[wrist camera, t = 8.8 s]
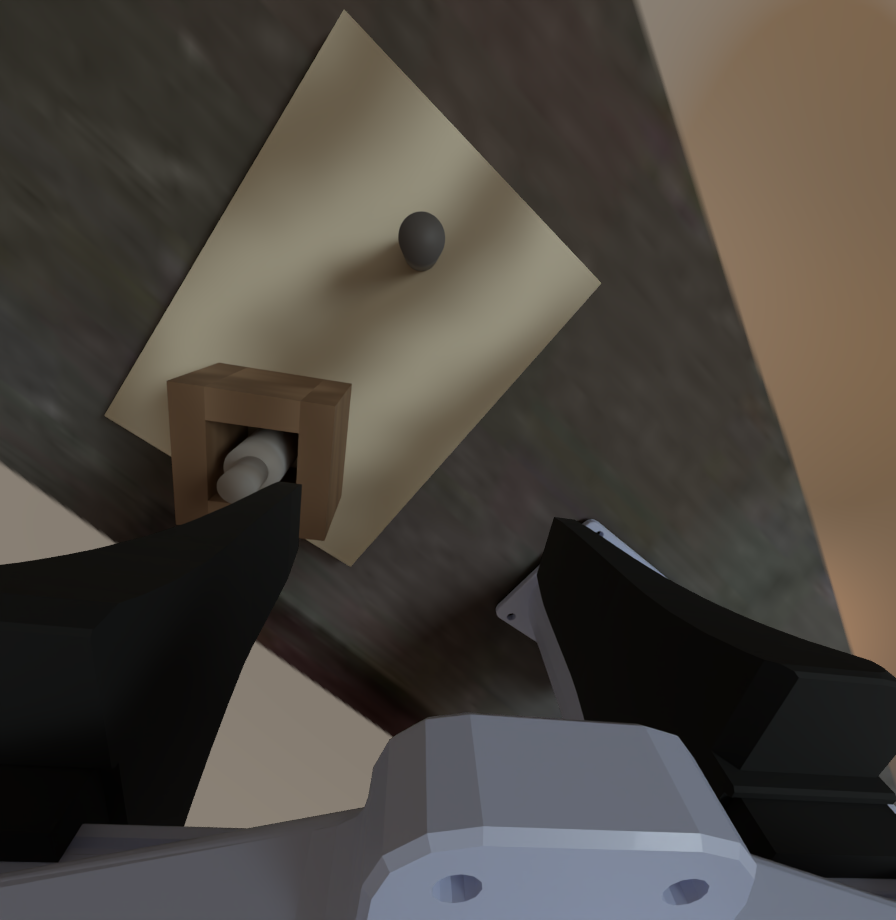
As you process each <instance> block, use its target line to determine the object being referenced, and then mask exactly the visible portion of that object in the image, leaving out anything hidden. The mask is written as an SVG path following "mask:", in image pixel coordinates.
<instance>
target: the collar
mask: <svg viewBox="0 0 896 920" xmlns="http://www.w3.org/2000/svg"><path fill="white" fill-rule="evenodd" d="M166 382H167V397H168V412H169V427H170V442H171V458H172V473H173V488H174V503H175V518H176V525H182V524H184V523H187V522H190V521H192V520H195V519H197V518H200V517H202V516H204V515H207V514H209V513H211V512H214V511H216V510H218V509H221V508H223V507H225V506H228V505H230V504H231V503H229V502H227V501H225V500H224V499H223V498H222V497H221V496H220V495H219V493H218V491H217V482H218V480H219V478H220V477H221V476H222V475H223V474H224V461H225V458H226V457H227V455H228V454H229V453H230V452H231V451H232V450H233V449H234V448H236V447H237V446H238V445H239V444H240V443H242V442H243V441H244V440H245V439H246V438H247V437H248V426H250V427H257V428H265V429H272V430H279V431H286V432H293V433H299V439H298V459H297V468H294V467H290V468H289V469H288V470H287V472H286V473H285V474H284V476H283V477H282V479H281V480H280V482H288V483H295V484H302V495H301V512H300V529H299V538H301V539H310V540H319V541H325V538H326V536H327V533H328V530H329V528H330V525H331V522H332V520H333V517H334V515H335V512H336V509H337V507H338V504H339V501H340V499H341V496H342V485H343V475H344V464H345V453H346V442H347V432H348V421H349V410H350V400H351V389H352V384H351V383H345V382H339V381H332V380H326V379H320V378H313V377H307V376H301V375H294V374H288V373H282V372H275V371H269V370H263V369H256V368H250V367H244V366H237V365H231V364H225V363H216V364H213V365H211V366H208V367H205V368H202V369H199V370H196V371H193V372H190V373H188V374H185V375H182V376H179V377H176V378H173V379H170V380H167V381H166Z"/></svg>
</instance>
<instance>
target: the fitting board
mask: <svg viewBox="0 0 896 920" xmlns="http://www.w3.org/2000/svg"><path fill="white" fill-rule="evenodd" d="M600 284H601V282H600V281H599V280H598V279H597V278H596V277H595V276H594V275H593V274H592V273H591V272H590V271H589V270H588V268H587V267H586V266H585V265H584V264H583V263H582V262H581V261H580V260H579V259H578V258H577V257H576V256H575V255H574V254H573V253H572V251H571V250H570V249H569V248H568V247H567V246H566V245H565V244H564V243H563V242H562V241H561V240H560V239H559V238H558V237H557V235H556V234H555V233H554V232H553V231H552V230H551V229H550V228H549V227H548V226H547V225H546V224H545V223H544V222H543V221H542V220H541V218H540V217H539V216H538V215H537V214H536V213H535V212H534V211H533V210H532V209H531V208H530V207H529V206H528V205H527V204H526V202H525V201H524V200H523V199H522V198H521V197H520V196H519V195H518V194H517V193H516V192H515V191H514V190H513V189H512V188H511V187H510V185H509V184H508V183H507V182H506V181H505V180H504V179H503V178H502V177H501V176H500V175H499V174H498V173H497V172H496V171H495V170H494V168H493V167H492V166H491V165H490V164H489V163H488V162H487V161H486V160H485V159H484V158H483V157H482V156H481V155H480V154H479V152H478V151H477V150H476V149H475V148H474V147H473V146H472V145H471V144H470V143H469V142H468V141H467V140H466V139H465V138H464V137H463V135H462V134H461V133H460V132H459V131H458V130H457V129H456V128H455V127H454V126H453V125H452V124H451V123H450V122H449V121H448V119H447V118H446V117H445V116H444V115H443V114H442V113H441V112H440V111H439V110H438V109H437V108H436V107H435V106H434V105H433V104H432V102H431V101H430V100H429V99H428V98H427V97H426V96H425V95H424V94H423V93H422V92H421V91H420V90H419V89H418V88H417V86H416V85H415V84H414V83H413V82H412V81H411V80H410V79H409V78H408V77H407V76H406V75H405V74H404V73H403V72H402V71H401V69H400V68H399V67H398V66H397V65H396V64H395V63H394V62H393V61H392V60H391V59H390V58H389V57H388V56H387V55H386V54H385V52H384V51H383V50H382V49H381V48H380V47H379V46H378V45H377V44H376V43H375V42H374V41H373V40H372V39H371V38H370V36H369V35H368V34H367V33H366V32H365V31H364V30H363V29H362V28H361V27H360V26H359V25H358V24H357V23H356V22H355V21H354V19H353V18H352V17H351V16H350V15H349V14H348V13H347V12H346V11H345V10H343V12H342V14H341V16H340V17H339V19H338V21H337V22H336V24H335V26H334V27H333V29H332V31H331V32H330V34H329V36H328V38H327V39H326V41H325V43H324V44H323V46H322V48H321V49H320V51H319V53H318V54H317V56H316V58H315V60H314V61H313V63H312V65H311V66H310V68H309V70H308V71H307V73H306V75H305V77H304V78H303V80H302V82H301V83H300V85H299V87H298V88H297V90H296V92H295V93H294V95H293V97H292V99H291V100H290V102H289V104H288V105H287V107H286V109H285V110H284V112H283V114H282V115H281V117H280V119H279V121H278V122H277V124H276V126H275V127H274V129H273V131H272V132H271V134H270V136H269V137H268V139H267V141H266V143H265V144H264V146H263V148H262V149H261V151H260V153H259V154H258V156H257V158H256V159H255V161H254V163H253V165H252V166H251V168H250V170H249V171H248V173H247V175H246V176H245V178H244V180H243V182H242V183H241V185H240V187H239V188H238V190H237V192H236V193H235V195H234V197H233V198H232V200H231V202H230V204H229V205H228V207H227V209H226V210H225V212H224V214H223V215H222V217H221V219H220V220H219V222H218V224H217V226H216V227H215V229H214V231H213V232H212V234H211V236H210V237H209V239H208V241H207V242H206V244H205V246H204V248H203V249H202V251H201V253H200V254H199V256H198V258H197V259H196V261H195V263H194V264H193V266H192V268H191V270H190V271H189V273H188V275H187V276H186V278H185V280H184V281H183V283H182V285H181V287H180V288H179V290H178V292H177V293H176V295H175V297H174V298H173V300H172V302H171V303H170V305H169V307H168V309H167V310H166V312H165V314H164V315H163V317H162V319H161V320H160V322H159V324H158V325H157V327H156V329H155V331H154V332H153V334H152V336H151V337H150V339H149V341H148V342H147V344H146V346H145V347H144V349H143V351H142V353H141V354H140V356H139V358H138V359H137V361H136V363H135V364H134V366H133V368H132V369H131V371H130V373H129V375H128V376H127V378H126V380H125V381H124V383H123V385H122V386H121V388H120V390H119V392H118V393H117V395H116V397H115V398H114V400H113V402H112V403H111V405H110V407H109V408H108V410H107V412H106V414H105V415H104V416H106V417H107V418H109V419H110V420H112V421H114V422H115V423H117V424H119V425H120V426H122V427H123V428H125V429H127V430H128V431H130V432H132V433H133V434H135V435H137V436H138V437H140V438H141V439H143V440H145V441H146V442H148V443H150V444H151V445H153V446H154V447H156V448H158V449H159V450H161V451H163V452H164V453H166V454H167V455H169V456H171V442H170V427H169V412H168V397H167V382H166V381H167V380H170V379H173V378H176V377H179V376H182V375H185V374H188V373H190V372H193V371H196V370H199V369H202V368H205V367H208V366H211V365H213V364H216V363H225V364H231V365H237V366H244V367H250V368H256V369H263V370H269V371H275V372H282V373H288V374H294V375H301V376H307V377H313V378H320V379H326V380H332V381H339V382H345V383H351V384H352V389H351V400H350V410H349V421H348V432H347V442H346V453H345V464H344V475H343V485H342V496H341V499H340V501H339V504H338V507H337V509H336V512H335V515H334V517H333V520H332V522H331V525H330V528H329V530H328V533H327V536H326V538H325V541H319V540H310V539H306V540H308V541H309V542H311V543H312V544H314V545H316V546H317V547H319V548H321V549H322V550H324V551H325V552H327V553H329V554H330V555H332V556H334V557H335V558H337V559H339V560H340V561H342V562H343V563H345V564H347V565H348V566H350V567H351V566H352V564H353V563H354V562H355V561H356V560H357V559H358V558H359V557H360V555H361V554H362V553H363V552H364V551H365V550H366V549H367V547H368V546H369V545H370V544H371V543H372V542H373V541H374V540H375V538H376V537H377V536H378V535H379V534H380V533H381V532H382V531H383V529H384V528H385V527H386V526H387V525H388V524H389V523H390V521H391V520H392V519H393V518H394V517H395V516H396V515H397V514H398V512H399V511H400V510H401V509H402V508H403V507H404V506H405V505H406V503H407V502H408V501H409V500H410V499H411V498H412V497H413V496H414V494H415V493H416V492H417V491H418V490H419V489H420V488H421V486H422V485H423V484H424V483H425V482H426V481H427V480H428V479H429V477H430V476H431V475H432V474H433V473H434V472H435V471H436V470H437V468H438V467H439V466H440V465H441V464H442V463H443V462H444V460H445V459H446V458H447V457H448V456H449V455H450V454H451V453H452V451H453V450H454V449H455V448H456V447H457V446H458V445H459V444H460V442H461V441H462V440H463V439H464V438H465V437H466V436H467V435H468V433H469V432H470V431H471V430H472V429H473V428H474V427H475V425H476V424H477V423H478V422H479V421H480V420H481V419H482V418H483V416H484V415H485V414H486V413H487V412H488V411H489V410H490V409H491V407H492V406H493V405H494V404H495V403H496V402H497V401H498V399H499V398H500V397H501V396H502V395H503V394H504V393H505V392H506V390H507V389H508V388H509V387H510V386H511V385H512V384H513V383H514V381H515V380H516V379H517V378H518V377H519V376H520V375H521V374H522V372H523V371H524V370H525V369H526V368H527V367H528V366H529V364H530V363H531V362H532V361H533V360H534V359H535V358H536V357H537V355H538V354H539V353H540V352H541V351H542V350H543V349H544V348H545V346H546V345H547V344H548V343H549V342H550V341H551V340H552V338H553V337H554V336H555V335H556V334H557V333H558V332H559V331H560V329H561V328H562V327H563V326H564V325H565V324H566V323H567V322H568V320H569V319H570V318H571V317H572V316H573V315H574V314H575V313H576V311H577V310H578V309H579V308H580V307H581V306H582V305H583V303H584V302H585V301H586V300H587V299H588V298H589V297H590V296H591V294H592V293H593V292H594V291H595V290H596V289H597V288H598V287H599V285H600ZM298 439H299V433H293V432H286V431H279V430H272V429H265V428H257V427H250V426H248V437H247V438H246V439H245V440H244V441H243V442H242V443H240V444H239V445H238V446H237V447H236V448H234V449H233V450H232V451H231V452H230V453H229V454H228V455H227V457H226V458H225V461H224V474H223V475H222V476H221V477H220V478H219V480H218V482H217V491H218V493H219V495H220V496H221V497H222V498H223V499H224V500H225V501H227V502H229V503H231V504H232V503H234V502H236V501H238V500H240V499H242V498H244V497H246V496H248V495H251V494H253V493H255V492H257V491H259V490H261V489H263V488H265V487H267V486H269V485H271V484H273V483H276V482H279V481H280V480H281V479H282V477H283V476H284V474H285V473H286V472H287V470H288V469H289V468H290V467H294V468H297V459H298Z"/></svg>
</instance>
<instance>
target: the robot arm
mask: <svg viewBox="0 0 896 920" xmlns="http://www.w3.org/2000/svg"><path fill="white" fill-rule="evenodd" d="M301 495H302V484H295V483H288V482H280V481H279V482H276V483H273V484H271V485H269V486H267V487H265V488H263V489H261V490H259V491H257V492H255V493H253V494H251V495H248V496H246V497H244V498H242V499H240V500H238V501H236V502H234V503H232V504H230V505H228V506H225V507H223V508H221V509H218V510H216V511H214V512H211V513H209V514H207V515H204V516H202V517H200V518H197V519H195V520H192V521H190V522H187V523H184V524H182V525H179V526H176V527H173V528H170V529H167V530H164V531H161V532H158V533H155V534H152V535H148V536H145V537H141V538H137V539H133V540H129V541H125V542H121V543H117V544H113V545H110V546H106V547H102V548H97V549H93V550H88V551H83V552H78V553H73V554H69V555H63V556H57V557H51V558H45V559H39V560H33V561H26V562H20V563H12V564H5V565H0V920H896V807H895V806H894V805H893V804H894V802H895V801H896V796H895V793H894V792H893V791H892V790H891V789H890V788H889V787H888V786H887V785H886V784H885V783H884V782H883V781H882V780H881V778H880V777H879V774H880V773H881V772H882V771H883V770H884V768H885V767H886V766H887V765H888V764H889V762H890V761H891V760H892V759H893V757H894V756H895V755H896V678H895V677H894V676H893V675H892V674H890V673H889V672H888V671H887V670H885V669H884V668H883V667H881V666H879V665H878V664H876V663H874V662H872V661H870V660H867V659H864V658H860V657H857V656H854V655H851V654H848V653H845V652H841V651H838V650H835V649H832V648H829V647H826V646H822V645H819V644H816V643H813V642H810V641H807V640H804V639H801V638H798V637H796V636H793V635H790V634H788V633H785V632H782V631H779V630H777V629H774V628H771V627H769V626H766V625H764V624H761V623H759V622H756V621H754V620H751V619H749V618H746V617H744V616H742V615H740V614H737V613H735V612H733V611H731V610H728V609H726V608H724V607H722V606H719V605H717V604H715V603H713V602H711V601H709V600H707V599H705V598H703V597H701V596H699V595H697V594H695V593H693V592H691V591H689V590H687V589H685V588H684V587H682V586H680V585H678V584H676V583H674V582H673V581H671V580H669V579H668V578H666V577H665V576H664V575H663V574H662V573H660V572H659V571H658V570H657V569H655V568H654V567H653V566H652V565H651V564H649V563H648V562H647V561H646V560H644V559H643V558H642V557H641V556H639V555H638V554H637V553H636V552H635V551H633V550H632V549H631V548H630V547H628V546H627V545H626V544H625V543H624V542H622V541H621V540H620V539H619V538H617V537H616V536H615V535H614V534H613V533H611V532H610V531H609V530H608V529H606V528H605V527H604V526H603V525H601V524H600V523H599V522H598V521H596V520H594V519H590V520H587V521H585V522H584V523H583V524H581V523H580V522H578V521H576V520H572V519H564V518H557V517H554V519H553V523H552V526H551V529H550V532H549V536H548V539H547V542H546V545H545V549H544V552H543V555H542V559H541V562H540V565H539V566H538V567H537V568H536V569H535V570H534V571H532V572H531V573H530V574H529V575H528V576H527V577H526V578H525V579H524V580H523V581H522V582H521V583H520V584H519V585H518V586H517V587H516V588H515V589H514V590H513V591H511V592H510V593H509V594H508V595H507V596H506V597H505V598H504V599H503V600H502V601H501V602H500V603H499V604H498V605H497V606H496V614H497V616H498V617H499V618H500V619H502V620H503V621H505V622H506V623H508V624H510V625H511V626H513V627H514V628H516V629H517V630H519V631H520V632H522V633H523V634H525V635H526V636H528V637H529V638H531V639H533V640H534V641H536V642H537V644H538V646H539V649H540V652H541V655H542V658H543V661H544V664H545V667H546V670H547V673H548V676H549V679H550V682H551V685H552V688H553V691H554V694H555V697H556V700H557V703H558V706H559V709H560V712H561V715H562V717H563V719H558V718H543V717H528V716H513V715H499V714H484V713H469V712H466V713H458V714H450V715H441V716H433V717H428V718H426V719H424V720H422V721H420V722H419V723H417V724H415V725H413V726H411V727H410V728H408V729H406V730H404V731H402V732H400V733H399V734H397V735H395V736H394V737H393V738H391V739H390V740H389V742H388V743H387V745H386V747H385V748H384V750H383V752H382V753H381V755H380V757H379V759H378V760H377V762H376V764H375V765H374V767H373V772H372V778H371V784H370V790H369V796H368V799H367V802H366V804H365V807H363V808H357V809H352V810H347V811H341V812H335V813H330V814H325V815H319V816H313V817H308V818H302V819H297V820H292V821H286V822H280V823H275V824H269V825H264V826H258V827H253V828H248V829H246V828H213V827H184V825H185V821H186V819H187V815H188V813H189V810H190V807H191V804H192V801H193V798H194V796H195V792H196V790H197V787H198V784H199V781H200V779H201V776H202V773H203V770H204V768H205V765H206V762H207V759H208V756H209V754H210V751H211V748H212V745H213V743H214V740H215V738H216V735H217V732H218V730H219V727H220V724H221V722H222V719H223V716H224V714H225V711H226V708H227V706H228V703H229V700H230V698H231V696H232V693H233V691H234V688H235V686H236V683H237V680H238V678H239V675H240V673H241V670H242V668H243V665H244V663H245V661H246V659H247V657H248V655H249V653H250V650H251V648H252V646H253V644H254V643H255V641H256V639H257V637H258V635H259V633H260V631H261V629H262V627H263V625H264V623H265V622H266V620H267V618H268V616H269V614H270V612H271V610H272V608H273V606H274V604H275V602H276V600H277V599H278V597H279V595H280V593H281V591H282V589H283V587H284V585H285V583H286V581H287V579H288V576H289V574H290V571H291V568H292V565H293V562H294V559H295V557H296V554H297V551H298V546H299V529H300V512H301ZM598 531H601V532H600V534H597V533H596V532H598ZM511 613H513V615H511V616H508V614H511Z"/></svg>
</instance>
